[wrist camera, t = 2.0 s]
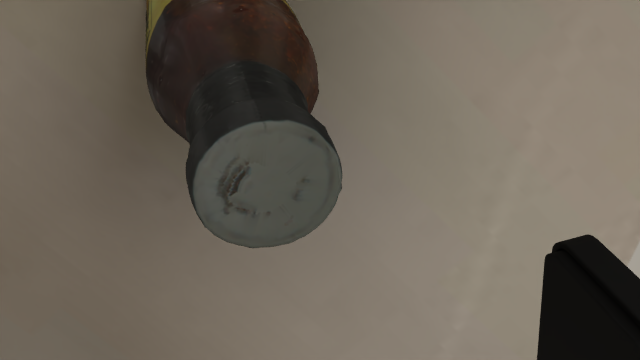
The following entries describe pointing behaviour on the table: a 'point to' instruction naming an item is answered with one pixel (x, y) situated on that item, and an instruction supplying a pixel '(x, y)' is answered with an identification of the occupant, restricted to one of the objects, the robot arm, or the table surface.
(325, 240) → the table surface
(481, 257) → the table surface
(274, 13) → the sauce bottle
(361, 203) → the table surface
